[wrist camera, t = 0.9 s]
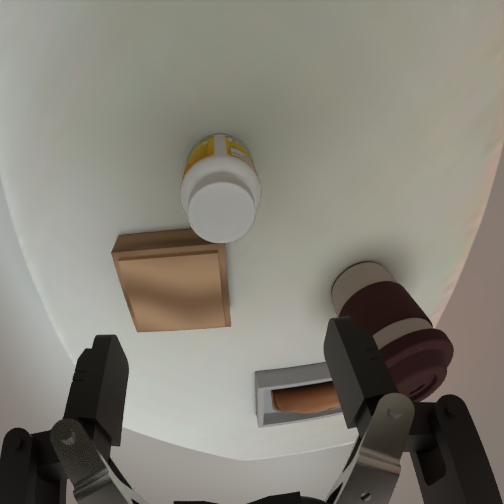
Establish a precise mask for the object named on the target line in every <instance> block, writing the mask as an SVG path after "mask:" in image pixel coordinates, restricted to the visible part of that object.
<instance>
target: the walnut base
mask: <svg viewBox="0 0 504 504" xmlns="http://www.w3.org/2000/svg"><path fill="white" fill-rule="evenodd" d="M111 254H112V257H113V261H114V264H115V268H116V271H117V274H118V277H119V281H120V284H121V287H122V290H123V293H124V296H125V299H126V302H127V305H128V308H129V311H130V314H131V317H132V319H133V322H134V325H135V328H136V330H137V332H154V331H174V330H190V329H205V328H218V327H230V326H231V317H230V306H229V295H228V283H227V271H226V258H225V245H224V243H213V242H209V241H207V240H205V239H203V238H201V237H199V236H198V235H197V234H196V233H195V232H194V230H193V229H183V230H171V231H160V232H149V233H139V234H128V235H119V236H118V238H117V240H116V243H115V245H114V247H113V250H112V252H111Z"/></svg>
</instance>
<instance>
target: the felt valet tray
mask: <svg viewBox="0 0 504 504" xmlns="http://www.w3.org/2000/svg"><path fill="white" fill-rule="evenodd" d="M255 374H256V415H257V421H258V428H260V427H268V426H276V425H283V424H290V423H297V422H303V421H309V420H314V419H320V418H325V417H330V416H335V415H340V414H343V412H342V409H341V408H337V409H334V410H327V411H323V412H317V413H308V414H307V413H294V412H280V411H275V410H274V409H273V406H272V397H271V390H273V389H274V390H276V389H284V388H290V387H297V386H303V385H309V384H315V383H321V382H327V381H332V378H331V375H330V372H329V369H328V366H327V363H326V362H324V363H318V364H312V365H305V366H298V367H291V368H283V369H275V370H266V371H257V372H255Z"/></svg>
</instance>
